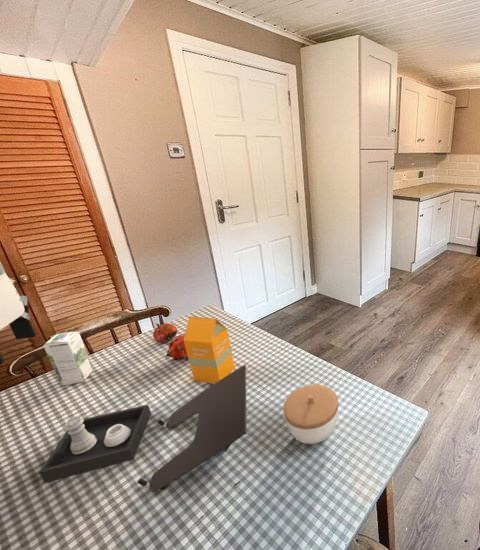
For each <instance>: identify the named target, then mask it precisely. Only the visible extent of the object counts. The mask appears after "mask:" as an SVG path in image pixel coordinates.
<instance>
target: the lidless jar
mask: <svg viewBox="0 0 480 550" xmlns="http://www.w3.org/2000/svg"><path fill="white" fill-rule="evenodd" d="M130 435H131V429H130V428H128V427H126V426H124V425H122V424H117V425H114V426H112V427H111V428H109V429H108V431H107V434H106V436H105V440H104V444H105V446H107V447H113V446H116V445H119V444H121V443H123V442H124V441H125V440H127V439H128V438H129V436H130Z"/></svg>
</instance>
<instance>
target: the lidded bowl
mask: <svg viewBox="0 0 480 550" xmlns="http://www.w3.org/2000/svg"><path fill="white" fill-rule="evenodd" d="M283 415H284V418H285V423H286V426H287V429H288V431H289V433H290V435H291V436H292V437H293V438H294V439H295V440H296V441H298V442H300V443H302V444H306V445H317V444H320V443H321V442H323V441H325V440H326V439H327V438H329V436H331V434H332V433H333V431H334V430H335V427H336V425H337V422H338V417H339V416H338V415H339V398H338V395H337V393H336V392H335V390H333V389H332V388H331V387H330V386H326V385H323V384H314V383H313V384H307V385H304V386H301V387H299V388H296V389H295V390H294V391H292V392H291V393H290V394H289V395H288V396H287V398H286V400H285V402H284V403H283Z"/></svg>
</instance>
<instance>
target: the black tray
mask: <svg viewBox="0 0 480 550" xmlns="http://www.w3.org/2000/svg"><path fill="white" fill-rule="evenodd" d="M151 415H152V412H151V409H150V406H149V404H145V405H141V406H135V407H131V408H126V409H122V410H118V411H117V410H116V411H113V412H108V413H104V414H98V415H95V416H91V417H85V418H83V419H84V421H83V423H82V424H84V425H85V429H86V430H87V432H88V433H91V434H93V435H95V438H96V439H97V441H96V444H95V445H94V446H93V448H91V449H90V450H89V451H87V452H85V453H82V454H73V453H72V451H71V448H70V446H71V442H72V438H71V435H70V434H68V430H65V433H64V434H63V436H62V437H61V439H60V440H59V442H58V443H57V445H56V446H55V448H54V450H52V452H51V454H50V455H49V456H48V458H47V459H46V461H45V462H44V464H43V466H42V467H41V469H40V471H39V472H38V474H39V476H40V477H41V479H42V481H43V483H45V484H46V483H49V482H50V483H51V482H53V481H54V482H55V481H57V480H60V479H65V478H68V477H73V476H76V475H79V474H84V473H88V472H91V471H95V470H99V469H102V468H106V467H109V466H110V467H111V466H115V465H117V464H122V463H125V462H129V461H132V460H134V459H135V457H136V455H137V454H136V453H137V451H138V449H139V447H140V444H141V441H142V438H143V436H144V433H145V430H146V428H147V426H148V423H149V421H150V417H151ZM117 424H122V425H124V426H126V427H128V428H130V429H131V435H130V436H129V438H128V439H127V440H125V441H124V442H123V443H121V444H119V445H116V446H113V447H107V446H105V444H104V440H105V436H106V434H107V431H108V429H109V428H111V427H112V426H114V425H117Z"/></svg>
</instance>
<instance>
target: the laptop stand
mask: <svg viewBox="0 0 480 550" xmlns="http://www.w3.org/2000/svg"><path fill="white" fill-rule="evenodd" d="M197 414H198V419H197V425H196V431H195V435H194V438H193V440H192V442H191V443H190V444H189V445H188V446H187V447H186V448H184V449H183V450H182V451H180V452H179V453H178V454H176V455H175V456H173V457H172V458H171V459H170V460H168V461H167V462H166V463H165V464H163V465H162V466H161V467H160V468H159V469H157V470H156V471H155V472H154V473H153V474H152V475H151V478H150V481H149V482H148V481H147V480H146V479H143V478H139V479H138V480H137V484H138V485H140V486H141V487H143V488H146V489H149V491H150V492H152V493H153V492H158V490H159V491H165V490H167V487H169V485H170V484H171V483H173V482H175V481H177V480H178V479H179V478H182V477H183V476H185V475H187V474H188V473H189V472H191V471H193V470H194V469H196V468H197V467H199V466H200V465H202V464H203V463H205V462H206V461H208V460H210V459H211V458H212V457H214V456H215V455H217V454H218V453H221V451H223V450H224V453H227V451H228V450H229V448H230V447H231V445H232V444H233V443H234V442H236V441H237V440H238V439H240V438H241V437H243V436H244V435H247V434H248V433H247V431H248V430H247V428H248V427H247V426H248V425H247V365H246V364H244V365H242V366H241V367H239V368H237V369H236V370H233V371H232V372H231V373H230V374H229V375H228V376H226V377H224V378H223V379H221V380H220V381H218V382H217V383H213V384H212V385H210V386H209V387H207V388H206V389H204V390H203V391H202V392H200V393H199V394H197V395H195V396H194V397H193V398H191V399H190V400H189V401H187V402H186V403H185V404H183V405H181V406H180V407H178V408H177V409H176V410H174V412H173V413H172V414H171V415H170V417H169V418H168V420H167V423H166V422H165V421H163V420H162V419H158V420H157V421H156V423H157V424H159V426H161V427H163V428H166V429H170V428H172V427H174V426H176V425H179V424H180V423H182V422H184V421H185V420H187V419H190V418H191V417H193V416H194V415H197Z"/></svg>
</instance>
